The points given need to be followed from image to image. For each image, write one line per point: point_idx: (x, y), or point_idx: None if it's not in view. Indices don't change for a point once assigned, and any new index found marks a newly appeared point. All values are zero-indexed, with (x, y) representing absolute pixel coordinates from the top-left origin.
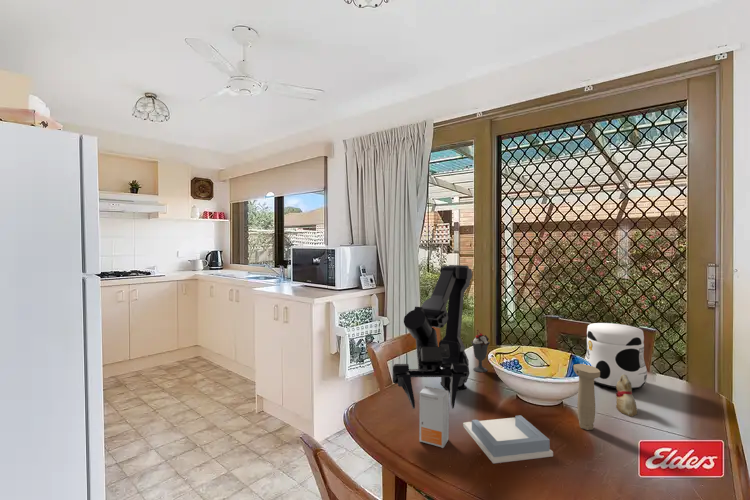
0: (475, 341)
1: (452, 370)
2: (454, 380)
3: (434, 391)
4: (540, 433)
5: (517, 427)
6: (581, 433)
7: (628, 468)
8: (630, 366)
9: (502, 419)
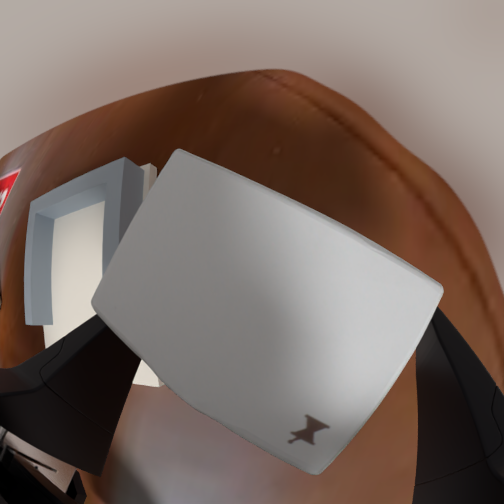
0: None
1: (3, 485)
2: (8, 383)
3: (232, 297)
4: (29, 227)
5: (51, 313)
6: (5, 284)
7: (17, 184)
8: None
9: None
